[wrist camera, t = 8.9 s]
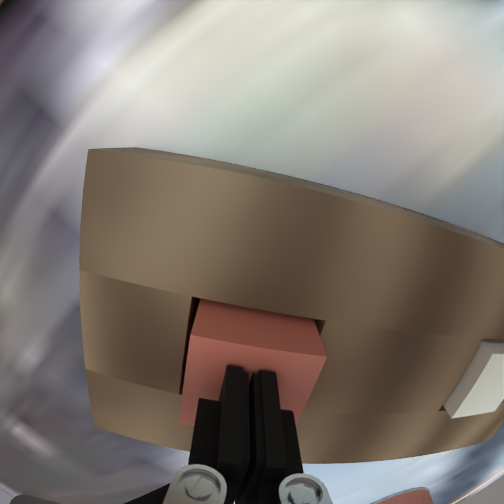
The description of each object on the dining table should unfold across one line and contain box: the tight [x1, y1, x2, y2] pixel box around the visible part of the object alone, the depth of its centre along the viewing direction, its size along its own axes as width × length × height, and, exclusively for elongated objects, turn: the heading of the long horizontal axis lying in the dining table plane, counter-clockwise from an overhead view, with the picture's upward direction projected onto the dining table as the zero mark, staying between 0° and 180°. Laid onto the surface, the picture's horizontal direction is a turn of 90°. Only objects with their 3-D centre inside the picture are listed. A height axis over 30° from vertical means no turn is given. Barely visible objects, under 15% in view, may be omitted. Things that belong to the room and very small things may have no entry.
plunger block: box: [80, 147, 504, 464], centre depth 15 cm, size 28×14×5 cm, turn 78°
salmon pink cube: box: [179, 298, 327, 426], centre depth 12 cm, size 4×4×4 cm
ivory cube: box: [443, 339, 504, 418], centre depth 14 cm, size 4×4×4 cm
